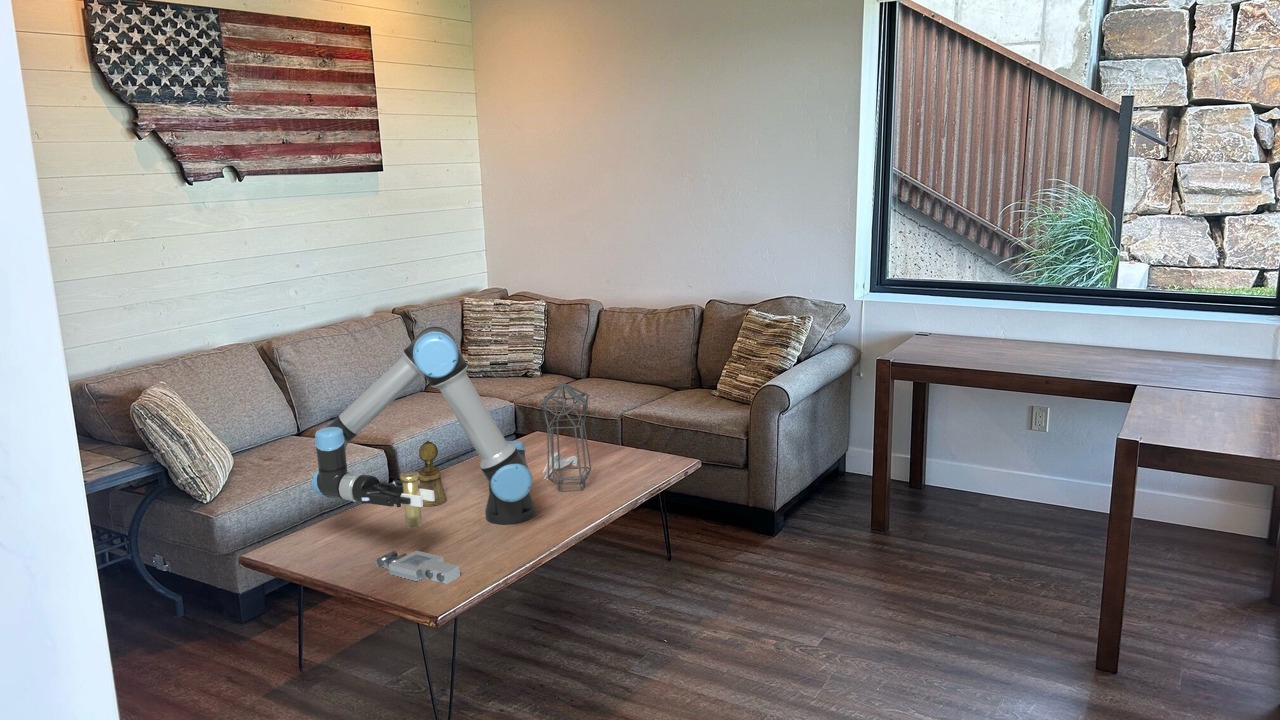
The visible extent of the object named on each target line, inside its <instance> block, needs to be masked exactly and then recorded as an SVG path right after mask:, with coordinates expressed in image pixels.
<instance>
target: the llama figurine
mask: <svg viewBox="0 0 1280 720" xmlns="http://www.w3.org/2000/svg"><path fill="white" fill-rule="evenodd" d="M559 454H560V468H566V466H568V465H570V464H571V465H572V466H574V465H575V466H574V467H577V465H578V456H576V455H571V456H569V457H567V458H566V459H565V458H564V457H563V456H562V455H561V453H560V452H559ZM551 466H552V458H551V456H549V468H551ZM558 468H559V466H558V452H554V469H558ZM551 472H552V468H551V469H550V470H549V475H550V474H551ZM540 474H542V475H544V477H543V480H544V479H545V480H547V481H549V480H548V461H547V462H546V465H545V467H544V469H543V470H542V471H541V473H540ZM552 475H553V473H552Z"/></svg>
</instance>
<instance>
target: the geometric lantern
mask: <svg viewBox="0 0 1280 720" xmlns="http://www.w3.org/2000/svg"><path fill="white" fill-rule="evenodd" d="M565 390H566V392H568V394H569V395H570V396H571V397H566V392H565ZM557 392H558V394H557ZM577 392H578V393H577ZM579 393H580V394H579ZM556 394H557V396H555V395H556ZM585 396H586V397H585ZM584 397H585V398H584ZM589 397H590V394H589V393H586V392H584V391H582V390H580V389H578V388H576V387H574V386H572V385H569V384H567V383H565V382H564V383H561V384H559V385H558V386H556V387H555V388H554V389H553V390H551V391H550V392H549V393H547V394H546V395H545V396H544V397H543V400H542V401H541V402H540V403H539V404H538V405H537V406H538V408H539V409H540V410H542V412H543V414H544V417H545V422H546V426H547V427H546V428H547V429H546V430H547V431H546V433H547V436H546V438H547V439H546V440H547V441H546V442H547V448H546V449H547V462H548V465H547V469H548V471H547V474H548V476H547V478H548V480H547V481H550V482H552V483H554V484H556V485H557V491H558V492H575V491H576V492H577V491H578V492H579V491H583V490H584V489H585V484H586V483H585V482H586V480H587V479H588V478H589V475H590V473H591V471H592V463H591V455H590V451H589V443H588V438H587V436H588V435H587V431H586V430H587V429H586V423H585V421H586V416H587V412H588V408H589V407H588V406H589V405H588V404H589ZM559 399H561V400H562V402H561V401H559ZM550 400H552V401H554V402H555V403H554V404H547V403H548V402H549V401H550ZM567 400H572V404H567ZM580 406H582V410H581V411H580V415H579V414H578V413H577V412H576V410H575V409H576V408H578V407H580ZM558 407H559V408H560V407H561V408H562V409H561V410H560V412H559V413H558V410H557V408H558ZM570 407H571V408H570ZM549 408H554V411H553V410H552V409H549ZM565 408H570V409H569V410H567V411H566V409H565ZM563 411H564V413H563ZM572 411H574V413H575V414H576V416H577V417H578V418H571V417H570V415H569V413H571V412H572ZM583 412H584V415H583V418H582V414H583ZM549 413H551V414H553V416H554V417H553V418H552V417H551V415H550V414H549ZM561 416H566V417H567V418H564V419H560V417H561ZM548 417H549V419H550V423H549V421H548ZM556 417H557V418H556ZM577 420H578V423H577V425H576V424H575V422H574V421H577ZM561 421H563V422H564V421H570V422H571V424H572V425H573V426H559V422H561ZM554 422H555V423H556V426H555V427H554ZM577 428H579V434H580V435H579V436H580V442H581V449H582V455H583V466H581V459H580V453H579V452H580V451H579V443H578V434H577V433H578V432H577ZM555 429H556V437H557V439H556V440H557V453H558V466H559V468H558V469H554V454H555V451H554V450H555V449H554V448H555V444H554V439H555V438H554V430H555ZM559 429H574V436H575V437H574V438H575V445H576V454H577V456H576V457H577V465H578V466H573V467H562V468H560V455H561V453H560V436H559V435H560V434H559V433H560V432H559ZM584 438H585V439H584ZM585 444H586V445H585ZM585 446H586V449H585ZM586 452H587V458H588V464H589V467H588V466H587V461H586ZM559 453H560V454H559ZM550 455H551V456H550ZM550 457H551V458H552V464H551V469H552V472H551V473H550V474H549V472H550V467H549V460H550ZM577 469H578V472H579V476H578V475H577V476H567V477H564V476H563V477H562V472H561V471H563V470H577ZM582 469H583V471H581V470H582ZM557 471H559V472H558V473H559V475H558V474H557ZM552 473H553V474H552ZM584 473H585V474H584ZM555 475H556V477H557V478H555ZM551 477H552V478H551ZM572 485H573V486H575V485H576V486H577V485H579V489H567V490H566V489H564V490H563V488H562V486H572Z"/></svg>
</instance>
